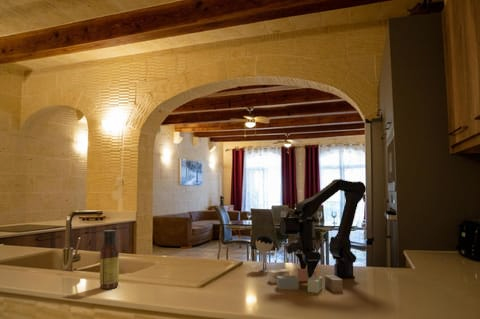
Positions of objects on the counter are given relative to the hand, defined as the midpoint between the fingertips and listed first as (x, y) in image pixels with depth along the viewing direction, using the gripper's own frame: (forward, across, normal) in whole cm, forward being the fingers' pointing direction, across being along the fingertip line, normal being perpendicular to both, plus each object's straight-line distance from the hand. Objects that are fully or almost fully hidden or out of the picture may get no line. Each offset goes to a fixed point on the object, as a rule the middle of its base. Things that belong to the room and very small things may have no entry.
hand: (306, 274), depth 135 cm
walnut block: (+2, +13, +6) cm, 14 cm away
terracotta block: (+2, 0, 0) cm, 2 cm away
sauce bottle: (+2, +5, -73) cm, 73 cm away
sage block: (+2, +14, -1) cm, 14 cm away
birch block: (+2, +1, -11) cm, 11 cm away
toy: (+2, -20, -13) cm, 24 cm away
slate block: (+2, +11, -10) cm, 15 cm away
